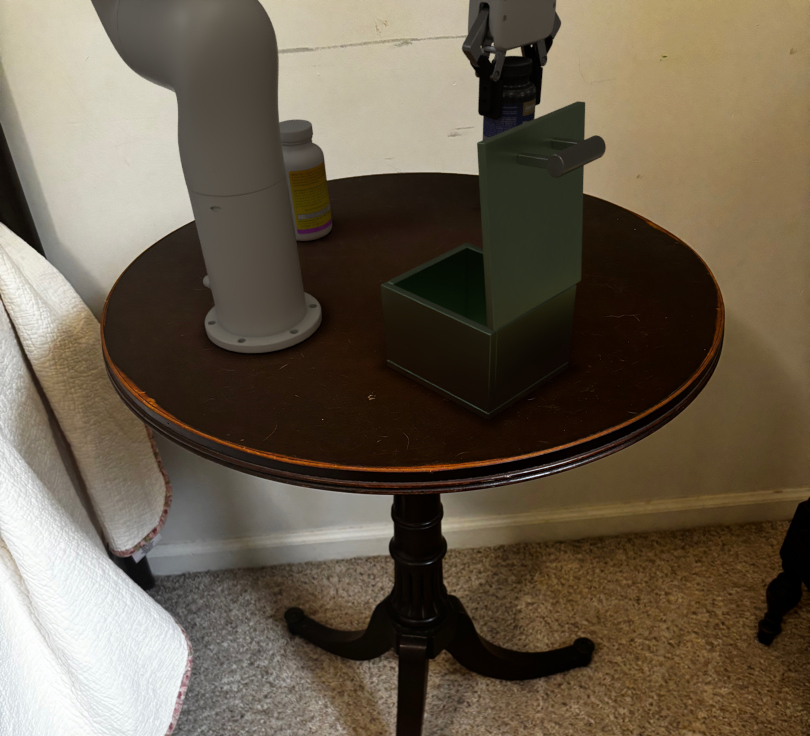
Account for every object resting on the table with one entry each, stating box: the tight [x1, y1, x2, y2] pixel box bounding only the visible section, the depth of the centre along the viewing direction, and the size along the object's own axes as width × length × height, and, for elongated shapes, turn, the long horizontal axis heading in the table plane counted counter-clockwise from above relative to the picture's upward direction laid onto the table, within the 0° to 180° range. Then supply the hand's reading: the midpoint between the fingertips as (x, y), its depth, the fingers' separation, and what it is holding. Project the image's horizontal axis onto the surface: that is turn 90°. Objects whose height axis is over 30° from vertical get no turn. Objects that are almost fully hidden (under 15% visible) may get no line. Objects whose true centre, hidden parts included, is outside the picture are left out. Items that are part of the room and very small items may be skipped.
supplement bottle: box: [279, 119, 333, 242], centre depth 99 cm, size 7×7×13 cm
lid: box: [476, 100, 607, 331], centre depth 63 cm, size 14×12×5 cm
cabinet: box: [380, 242, 578, 421], centre depth 76 cm, size 14×12×9 cm
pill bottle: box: [482, 55, 537, 140], centre depth 95 cm, size 6×6×11 cm
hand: (509, 108), depth 94 cm, fingers closed on pill bottle, 6 cm apart
